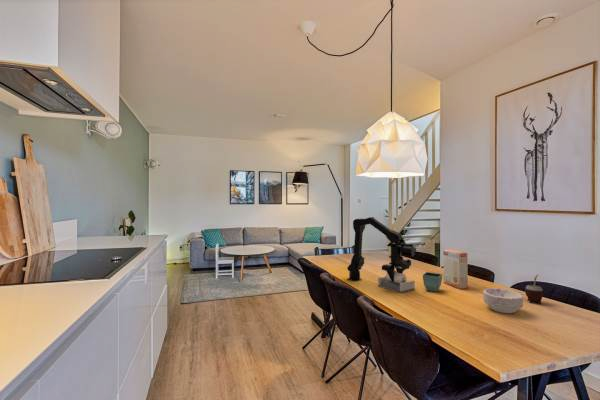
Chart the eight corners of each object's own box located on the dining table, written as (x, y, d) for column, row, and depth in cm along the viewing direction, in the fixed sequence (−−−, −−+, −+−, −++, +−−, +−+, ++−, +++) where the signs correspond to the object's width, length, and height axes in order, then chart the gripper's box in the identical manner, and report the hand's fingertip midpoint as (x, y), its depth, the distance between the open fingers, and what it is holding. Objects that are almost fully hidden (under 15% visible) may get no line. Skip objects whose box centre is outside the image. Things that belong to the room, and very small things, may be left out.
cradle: (378, 286, 177) (378, 277, 177) (391, 282, 183) (391, 274, 183) (401, 293, 163) (401, 284, 163) (414, 289, 170) (414, 280, 170)
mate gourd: (531, 299, 152) (531, 270, 152) (548, 304, 144) (548, 273, 144) (521, 300, 150) (521, 271, 150) (538, 306, 142) (537, 274, 142)
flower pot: (439, 293, 162) (439, 277, 162) (422, 290, 167) (422, 274, 167) (442, 289, 169) (442, 274, 169) (426, 287, 174) (426, 271, 174)
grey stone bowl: (505, 317, 128) (505, 299, 128) (475, 305, 143) (475, 289, 143) (531, 314, 132) (531, 296, 132) (500, 302, 147) (500, 286, 147)
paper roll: (385, 281, 176) (385, 271, 176) (392, 279, 179) (392, 270, 179) (400, 285, 167) (400, 275, 167) (406, 283, 171) (406, 273, 171)
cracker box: (468, 288, 170) (468, 252, 170) (459, 289, 169) (458, 253, 169) (451, 282, 184) (451, 248, 184) (443, 282, 183) (442, 249, 183)
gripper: (397, 258, 161) (397, 286, 161) (417, 254, 172) (417, 281, 172) (381, 255, 171) (381, 282, 170) (401, 252, 181) (401, 277, 181)
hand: (395, 280), depth 173 cm, fingers closed on paper roll, 6 cm apart
